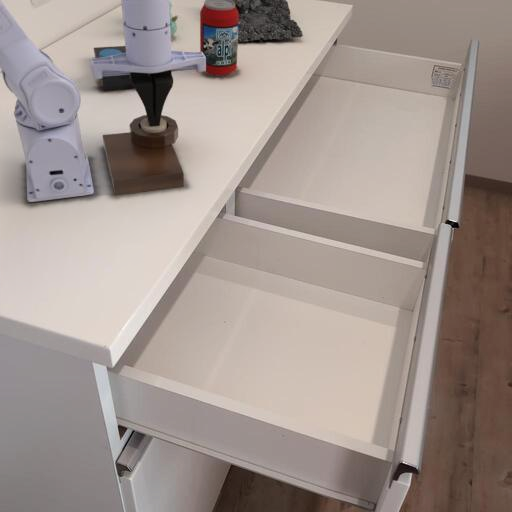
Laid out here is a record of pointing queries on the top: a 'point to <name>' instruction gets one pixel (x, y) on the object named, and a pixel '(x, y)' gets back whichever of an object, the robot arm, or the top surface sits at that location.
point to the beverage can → (219, 36)
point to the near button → (153, 129)
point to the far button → (109, 52)
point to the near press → (143, 158)
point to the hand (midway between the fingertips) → (153, 123)
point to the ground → (265, 20)
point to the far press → (114, 81)
